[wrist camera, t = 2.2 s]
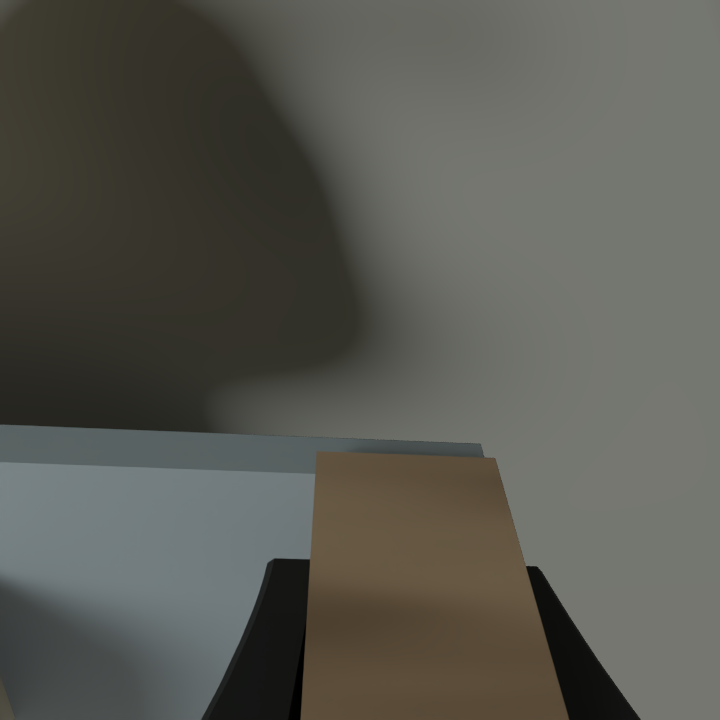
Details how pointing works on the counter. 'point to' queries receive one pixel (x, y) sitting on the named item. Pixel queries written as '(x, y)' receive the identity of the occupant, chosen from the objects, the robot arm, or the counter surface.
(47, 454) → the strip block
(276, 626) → the robot arm
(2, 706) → the block
